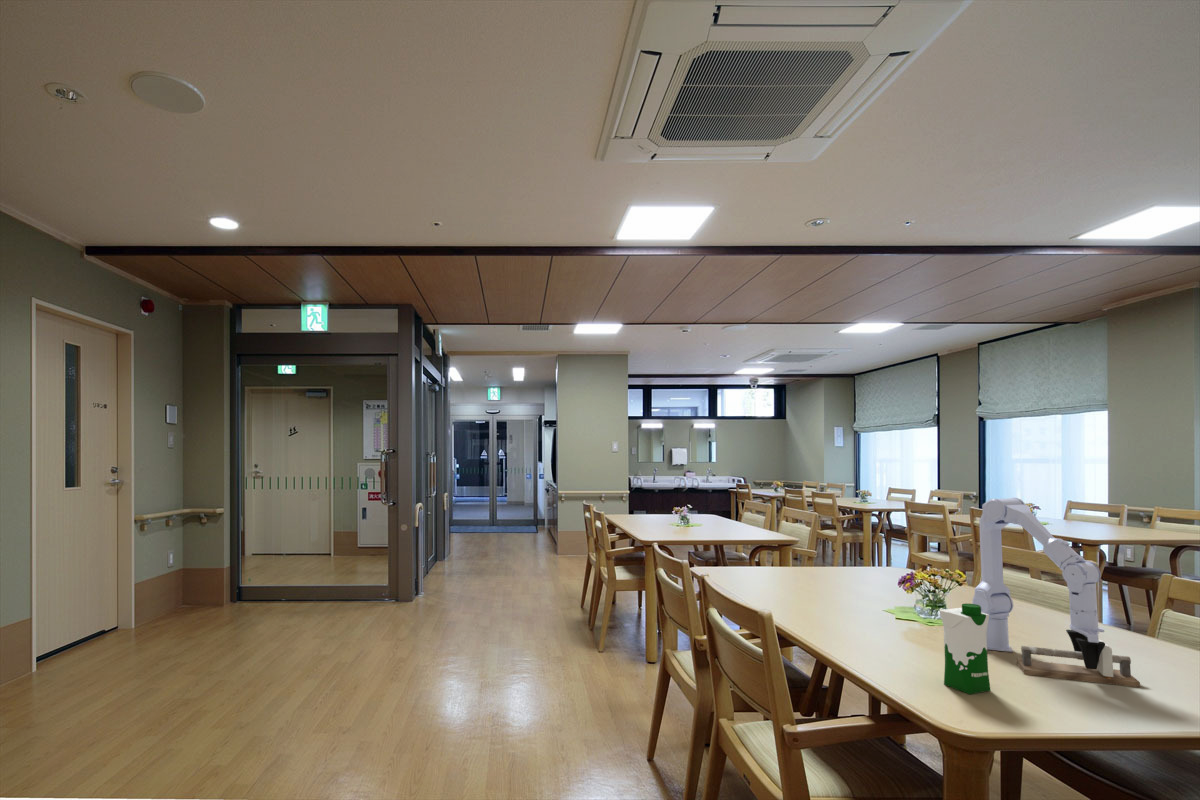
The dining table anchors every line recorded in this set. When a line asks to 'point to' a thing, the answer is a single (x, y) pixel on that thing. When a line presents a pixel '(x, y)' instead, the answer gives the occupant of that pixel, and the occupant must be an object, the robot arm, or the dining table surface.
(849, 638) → the dining table surface
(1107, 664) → the collar
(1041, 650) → the slider rail
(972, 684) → the milk carton
